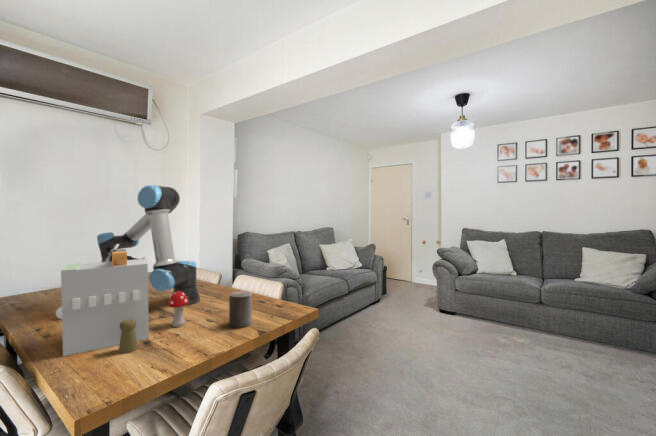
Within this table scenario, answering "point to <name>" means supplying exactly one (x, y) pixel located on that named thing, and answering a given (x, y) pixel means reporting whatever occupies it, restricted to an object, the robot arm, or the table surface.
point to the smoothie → (59, 313)
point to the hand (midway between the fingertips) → (131, 253)
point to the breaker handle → (119, 257)
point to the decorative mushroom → (178, 307)
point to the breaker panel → (102, 303)
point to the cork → (128, 336)
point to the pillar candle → (240, 309)
